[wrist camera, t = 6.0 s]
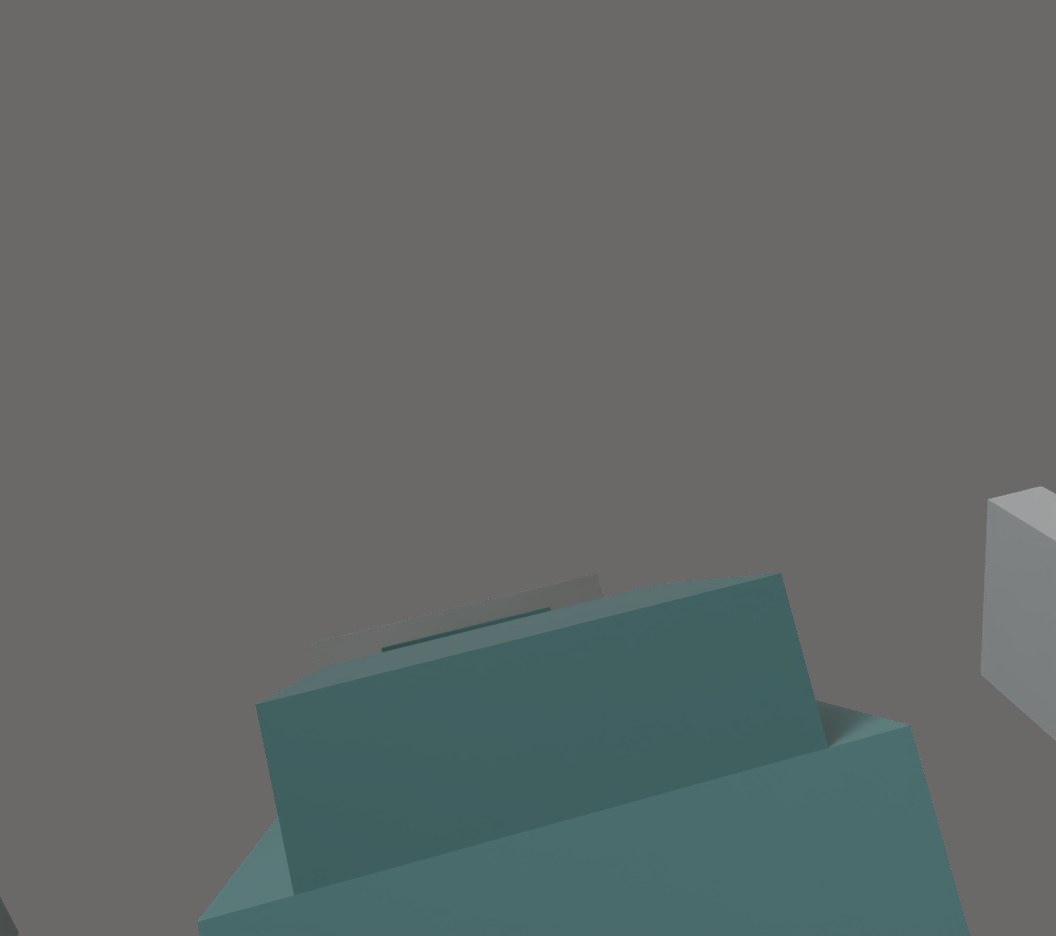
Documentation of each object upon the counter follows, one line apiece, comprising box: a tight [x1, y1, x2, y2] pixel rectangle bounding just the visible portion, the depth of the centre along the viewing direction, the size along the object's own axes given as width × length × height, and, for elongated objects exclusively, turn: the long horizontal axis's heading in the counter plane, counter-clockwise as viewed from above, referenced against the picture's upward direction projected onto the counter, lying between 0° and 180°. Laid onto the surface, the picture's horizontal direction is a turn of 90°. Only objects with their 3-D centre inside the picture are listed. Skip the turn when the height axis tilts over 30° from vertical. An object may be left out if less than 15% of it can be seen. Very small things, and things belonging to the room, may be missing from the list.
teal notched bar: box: [197, 573, 970, 936], centre depth 18 cm, size 26×4×4 cm, turn 5°
